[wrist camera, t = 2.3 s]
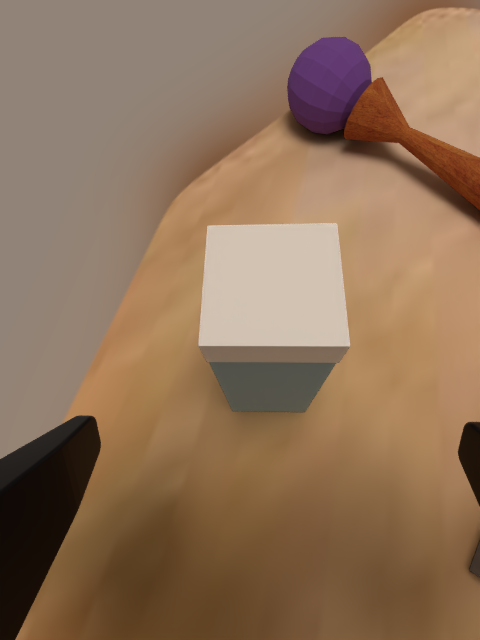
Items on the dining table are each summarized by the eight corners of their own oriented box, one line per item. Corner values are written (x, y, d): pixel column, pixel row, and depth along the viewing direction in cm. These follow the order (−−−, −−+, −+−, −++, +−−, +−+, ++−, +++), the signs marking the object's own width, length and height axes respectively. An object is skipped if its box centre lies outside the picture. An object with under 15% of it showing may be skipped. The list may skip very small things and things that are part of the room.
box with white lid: (305, 413, 19) (350, 346, 9) (231, 412, 20) (198, 345, 10) (302, 343, 21) (337, 223, 11) (234, 343, 21) (207, 225, 11)
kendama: (545, 232, 19) (269, 58, 24) (485, 272, 25) (273, 125, 30) (613, 154, 19) (327, 0, 24) (539, 211, 25) (320, 77, 30)
